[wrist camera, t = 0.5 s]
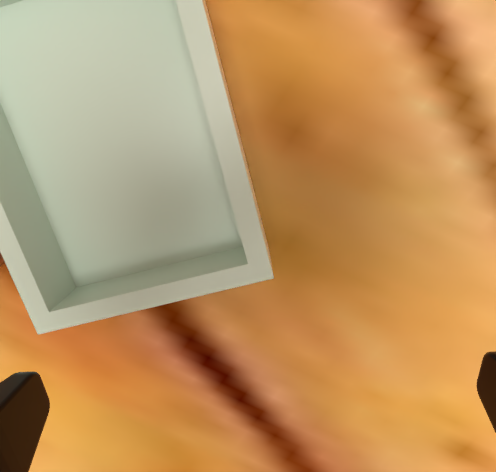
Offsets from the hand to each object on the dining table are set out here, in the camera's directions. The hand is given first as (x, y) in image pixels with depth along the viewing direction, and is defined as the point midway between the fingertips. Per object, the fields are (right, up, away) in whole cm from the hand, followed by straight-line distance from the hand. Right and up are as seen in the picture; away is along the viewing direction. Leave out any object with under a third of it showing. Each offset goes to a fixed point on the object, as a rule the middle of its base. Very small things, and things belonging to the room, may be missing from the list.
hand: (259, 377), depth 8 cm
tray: (-7, +8, +12) cm, 16 cm away
